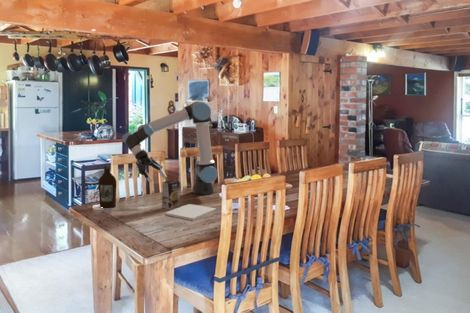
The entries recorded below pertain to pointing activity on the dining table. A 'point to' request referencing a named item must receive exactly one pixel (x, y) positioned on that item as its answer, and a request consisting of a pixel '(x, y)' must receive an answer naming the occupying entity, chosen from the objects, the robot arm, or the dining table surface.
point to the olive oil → (107, 189)
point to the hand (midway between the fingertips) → (158, 179)
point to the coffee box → (170, 194)
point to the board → (190, 211)
